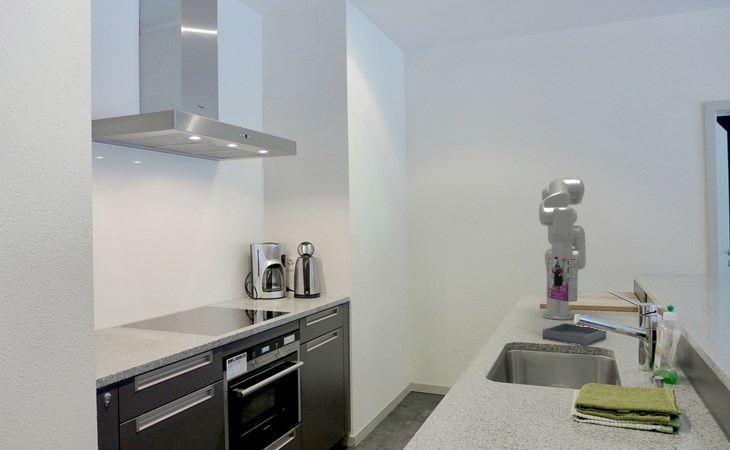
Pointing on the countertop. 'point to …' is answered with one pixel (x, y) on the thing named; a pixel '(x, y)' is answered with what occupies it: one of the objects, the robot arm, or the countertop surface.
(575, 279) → the candy bar box
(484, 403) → the countertop surface
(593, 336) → the tray
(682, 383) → the countertop surface
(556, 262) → the robot arm
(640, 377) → the countertop surface
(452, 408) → the countertop surface
